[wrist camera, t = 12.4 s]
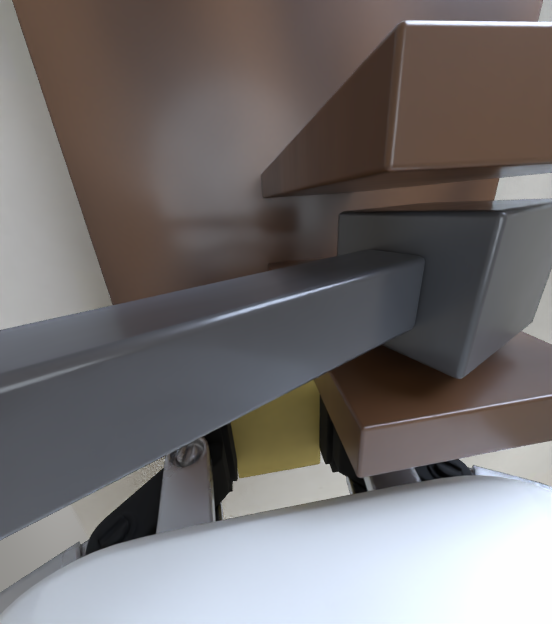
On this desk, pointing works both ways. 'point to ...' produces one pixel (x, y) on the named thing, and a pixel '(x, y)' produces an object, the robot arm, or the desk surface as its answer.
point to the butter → (279, 433)
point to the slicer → (305, 166)
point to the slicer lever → (258, 342)
